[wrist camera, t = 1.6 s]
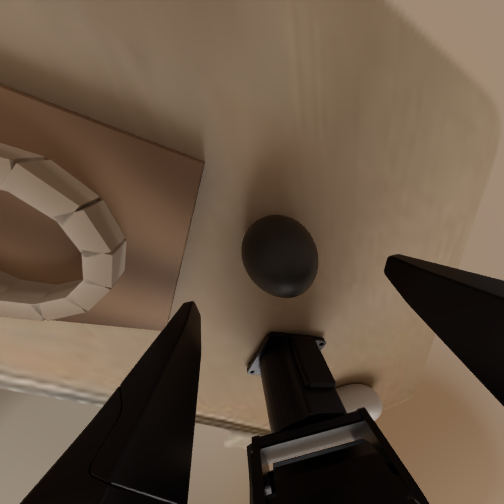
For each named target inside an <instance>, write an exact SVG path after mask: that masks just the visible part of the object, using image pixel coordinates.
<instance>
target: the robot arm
mask: <svg viewBox="0 0 504 504" xmlns="http://www.w3.org/2000/svg"><path fill="white" fill-rule="evenodd" d="M384 273H385V275H386V277H387V278H388V279H389V280H390V282H391V283H392V284H393V286H394V287H395V288H396V289H397V291H398V292H399V293H400V295H401V296H402V297H403V298H404V300H405V301H406V302H407V303H408V304H409V306H410V307H411V308H412V309H413V310H414V311H415V312H416V313H417V314H418V315H419V316H420V317H421V318H422V320H423V321H424V322H425V323H426V324H427V325H428V326H429V327H430V328H431V329H432V330H433V331H434V332H435V333H436V335H437V336H438V337H439V338H440V339H441V340H442V341H443V342H444V343H445V344H446V345H447V346H448V347H449V348H450V349H451V351H452V352H453V353H454V354H455V355H456V356H457V357H458V358H459V359H460V360H461V361H462V362H463V363H464V364H465V366H466V367H467V368H468V369H469V370H470V371H471V372H472V373H473V374H474V375H475V376H476V377H477V378H478V379H479V381H480V382H481V383H482V384H483V385H484V386H485V387H486V388H487V389H488V390H489V391H490V392H491V393H492V394H493V395H494V396H495V398H496V399H497V400H498V401H499V402H500V403H501V404H502V405H503V406H504V281H502V280H499V279H495V278H491V277H487V276H483V275H479V274H475V273H471V272H467V271H463V270H460V269H456V268H452V267H448V266H444V265H440V264H436V263H432V262H428V261H424V260H420V259H416V258H412V257H408V256H404V255H400V254H396V255H392V256H389V257H388V258H387V261H386V265H385V269H384ZM325 344H326V341H325V340H324V338H321V337H312V336H304V335H295V334H286V333H277V332H271V333H269V334H268V335H267V336H266V338H265V340H264V341H263V343H262V344H261V346H260V348H259V349H258V351H257V353H256V354H255V356H254V358H253V359H252V361H251V363H250V364H249V366H248V367H247V373H248V374H249V375H261V378H262V384H263V389H264V395H265V400H266V406H267V412H268V417H269V423H270V428H271V434H268V435H264V436H260V437H259V435H257V436H254V437H252V443H251V444H250V445H248V446H247V456H248V467H249V482H250V504H429V502H428V501H427V499H426V497H425V496H424V494H423V493H422V491H421V490H420V488H419V487H418V485H417V484H416V482H415V481H414V479H413V478H412V476H411V475H410V473H409V472H408V470H407V469H406V467H405V466H404V464H403V463H402V461H401V460H400V458H399V457H398V455H397V454H396V453H395V451H394V450H393V448H392V447H391V445H390V444H389V442H388V441H387V439H386V438H385V436H384V435H383V433H382V432H381V430H380V429H379V428H378V426H377V424H376V423H375V422H374V420H373V419H372V417H371V416H370V414H369V413H368V411H367V410H366V408H365V407H362V408H358V409H357V410H356V411H353V412H350V413H347V412H346V409H345V407H344V405H343V403H342V401H341V399H340V397H339V395H338V393H337V390H336V388H335V387H336V382H335V380H334V378H333V376H332V374H331V372H330V370H329V368H328V366H327V364H326V361H325V359H324V357H323V355H322V353H321V351H320V350H321V349H322V348H323V347H324V346H325ZM200 361H201V317H200V313H199V311H198V308H197V306H196V304H195V302H194V301H190V302H186V303H184V304H183V305H182V306H181V307H180V308H179V310H178V311H177V312H176V314H175V315H174V316H173V317H172V319H171V320H170V321H169V323H168V324H167V325H166V326H165V328H164V329H163V330H162V332H161V333H160V334H159V335H158V337H157V338H156V339H155V341H154V342H153V343H152V344H151V346H150V347H149V348H148V350H147V351H146V352H145V353H144V355H143V356H142V357H141V359H140V360H139V361H138V362H137V364H136V365H135V366H134V368H133V369H132V370H131V371H130V373H129V374H128V375H127V377H126V378H125V379H124V380H123V382H122V383H121V385H120V387H118V388H117V389H116V391H115V392H114V393H113V394H112V396H111V397H110V398H109V400H108V401H107V402H106V403H105V405H104V406H103V407H102V409H101V410H100V411H99V412H98V413H97V415H96V416H95V417H94V418H93V420H92V421H91V422H90V423H89V424H88V426H87V427H86V428H85V429H84V430H83V431H82V433H81V434H80V435H79V436H78V437H77V438H76V440H75V441H74V442H73V443H72V444H71V445H70V447H69V448H68V449H67V450H66V451H65V452H64V453H63V455H62V456H61V457H60V458H59V459H58V460H57V462H56V463H55V464H54V465H53V466H52V467H51V468H50V470H49V471H48V472H47V473H46V474H45V475H44V476H43V478H42V479H41V480H40V481H39V483H38V484H37V485H36V486H35V487H34V488H33V489H32V490H31V491H30V492H29V494H28V495H27V496H26V497H25V498H24V499H23V501H22V502H21V503H20V504H187V501H188V491H189V480H190V469H191V458H192V447H193V436H194V426H195V415H196V405H197V394H198V383H199V372H200ZM352 440H354V441H353V442H349V441H352ZM345 442H349V443H345ZM341 443H345V444H342V445H338V444H341ZM334 445H338V446H334ZM331 446H334V447H331ZM327 447H331V448H327ZM324 448H327V449H324ZM320 449H323V450H320ZM316 450H320V451H316ZM313 451H316V452H313ZM309 452H312V453H309ZM305 453H309V454H305ZM301 454H305V455H302V456H298V455H301ZM294 456H298V457H294ZM290 457H294V458H291V459H287V458H290ZM283 459H287V460H283ZM280 460H283V461H280ZM276 461H280V462H276ZM272 462H276V463H273V470H271V471H270V470H269V465H268V464H269V463H272Z"/></svg>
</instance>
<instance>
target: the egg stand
mask: <svg viewBox="0 0 504 504" xmlns="http://www.w3.org/2000/svg"><path fill="white" fill-rule="evenodd" d="M204 164H205V162H204V161H201V160H198V159H196V158H193V157H190V156H188V155H185V154H183V153H180V152H177V151H175V150H172V149H169V148H167V147H164V146H162V145H159V144H156V143H154V142H151V141H148V140H146V139H143V138H141V137H138V136H135V135H133V134H130V133H127V132H125V131H122V130H120V129H117V128H114V127H112V126H109V125H106V124H104V123H101V122H99V121H96V120H93V119H91V118H88V117H85V116H83V115H80V114H77V113H75V112H72V111H70V110H67V109H64V108H62V107H59V106H56V105H54V104H51V103H49V102H46V101H43V100H41V99H38V98H35V97H33V96H30V95H28V94H25V93H22V92H20V91H17V90H14V89H12V88H9V87H7V86H4V85H1V84H0V317H6V318H16V319H27V320H37V321H44V320H47V321H49V320H56V321H66V322H76V323H87V324H97V325H107V326H118V327H128V328H138V329H149V330H159V331H162V330H163V329H164V328H165V326H166V325H167V324H168V320H169V316H170V311H171V307H172V303H173V298H174V294H175V290H176V285H177V281H178V277H179V272H180V268H181V264H182V259H183V255H184V251H185V246H186V242H187V237H188V233H189V229H190V224H191V220H192V216H193V211H194V207H195V203H196V198H197V194H198V190H199V185H200V181H201V177H202V172H203V168H204Z"/></svg>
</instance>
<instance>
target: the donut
mask: <svg viewBox="0 0 504 504" xmlns="http://www.w3.org/2000/svg"><path fill="white" fill-rule="evenodd" d="M336 390H337V393H338V395H339V397H340V399H341V401H342V403H343V405H344V407H345V409H346V412H347V413H350V412H353V411H356V410H357V409H358V408H362V407H365V408H366V410H367V411H368V413H369V414H370V416H371V417H372V419H373V420H374V421H375V420H376V419H377V418H378V417H379V416H380V414H381V411H382V401H381V399H380V397H379V396H378V394H377V393H376V392H375V391H374V390H373V389H372V388H370V387H369V386H366V385H363V384H350V385H344V386H341V387H338V388H336Z"/></svg>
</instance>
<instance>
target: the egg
mask: <svg viewBox="0 0 504 504" xmlns="http://www.w3.org/2000/svg"><path fill="white" fill-rule="evenodd" d="M242 260H243V264H244V267H245V269H246V271H247V273H248V275H249V276H250V278H251V279H252V280H253V282H254V283H255V284H256V285H257V286H258V287H260V288H261V289H262V290H264V291H265V292H267V293H269V294H271V295H274V296H277V297H283V298H291V297H295V296H298V295H300V294H302V293H304V292H305V291H306V290H307V289H308V288H309V287H310V286H311V284H312V283H313V281H314V279H315V276H316V273H317V269H318V253H317V249H316V245H315V243H314V241H313V238H312V237H311V235H310V233H309V232H308V231H307V230H306V228H305V227H304V226H303V225H301V224H300V223H299V222H297V221H296V220H294V219H292V218H290V217H286V216H282V215H271V216H267V217H264V218H261V219H260V220H258V221H256V222H255V223H254V224H253V225H252V226H251V227H250V228H249V229H248V231H247V232H246V234H245V236H244V239H243V243H242Z"/></svg>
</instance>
